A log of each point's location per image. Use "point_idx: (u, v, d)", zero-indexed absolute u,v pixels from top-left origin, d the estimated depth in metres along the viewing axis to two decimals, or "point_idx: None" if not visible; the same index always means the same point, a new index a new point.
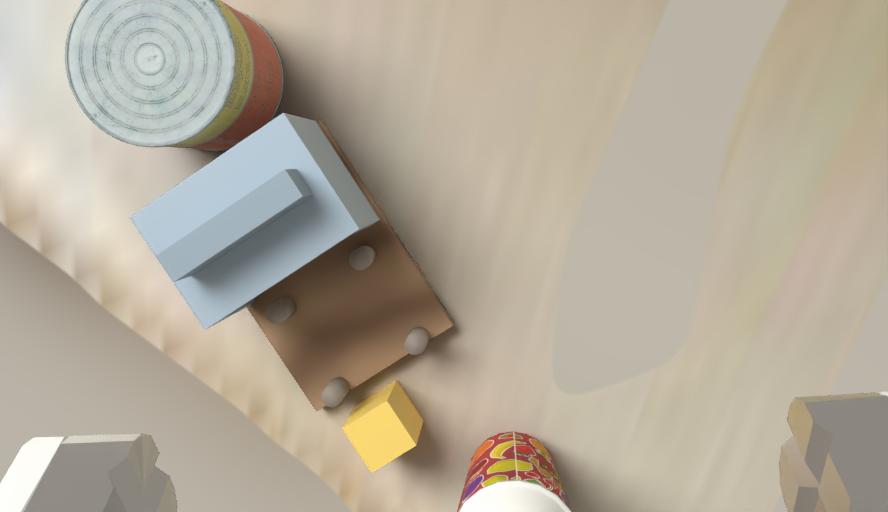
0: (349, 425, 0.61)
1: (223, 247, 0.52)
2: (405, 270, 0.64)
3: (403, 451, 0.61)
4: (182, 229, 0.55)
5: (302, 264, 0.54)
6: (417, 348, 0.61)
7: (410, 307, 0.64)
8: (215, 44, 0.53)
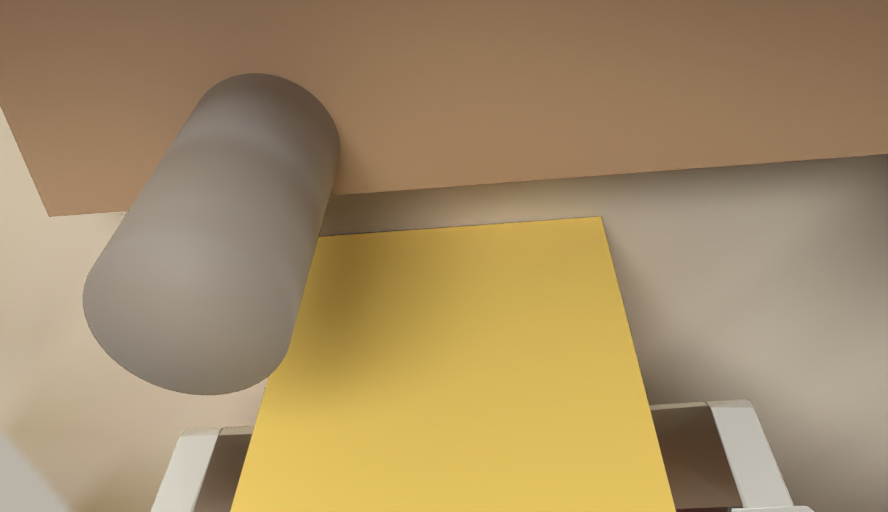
0: None
1: None
2: None
3: None
4: None
5: None
6: None
7: None
8: None
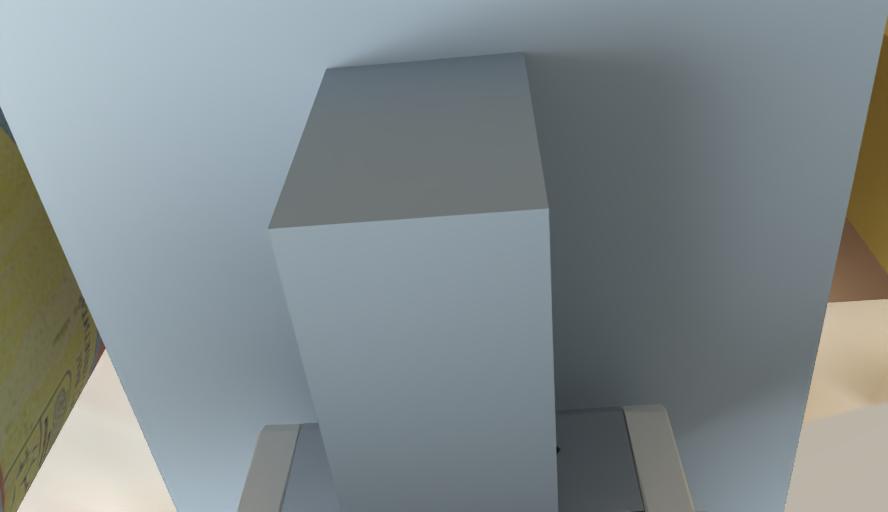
0: None
1: None
2: None
3: None
4: None
5: (822, 284, 0.10)
6: None
7: None
8: None
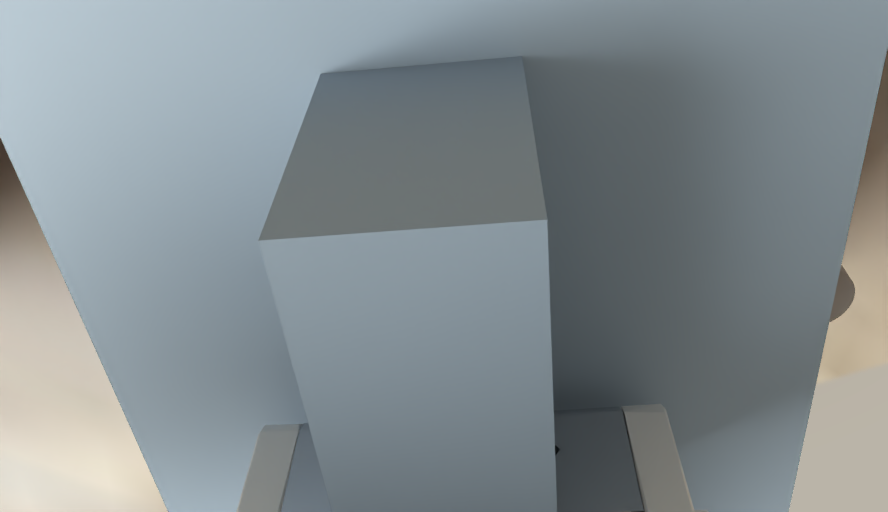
0: None
1: None
2: None
3: None
4: None
5: (826, 291, 0.10)
6: None
7: None
8: None
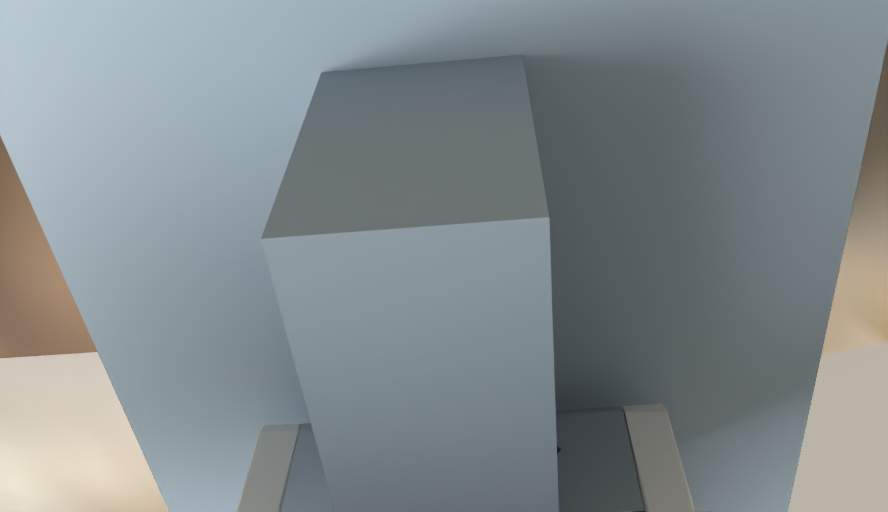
0: None
1: None
2: None
3: None
4: None
5: (826, 289, 0.10)
6: None
7: None
8: None
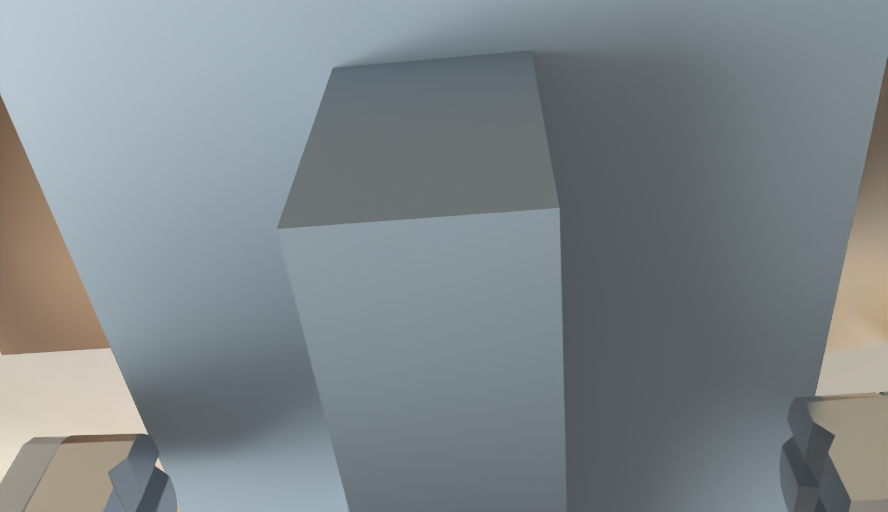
0: None
1: None
2: None
3: None
4: None
5: (830, 283, 0.10)
6: None
7: None
8: None
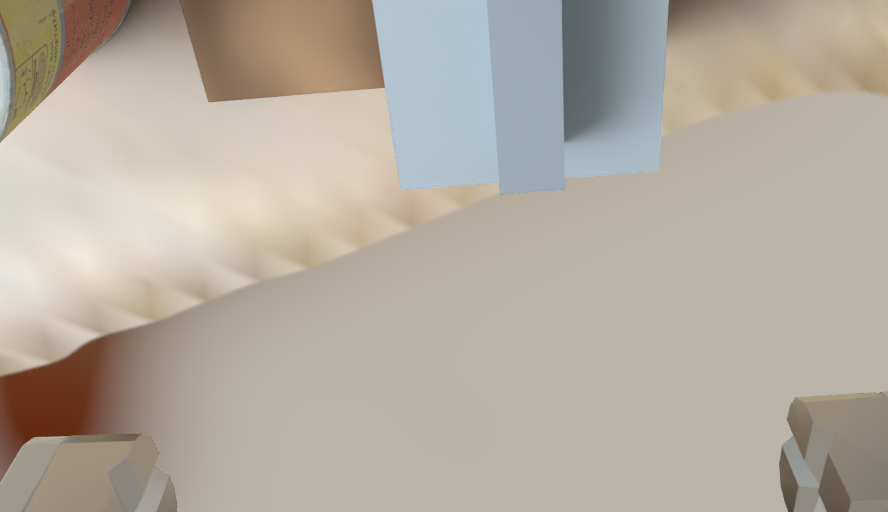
0: None
1: (560, 68, 0.23)
2: None
3: None
4: (468, 117, 0.27)
5: None
6: None
7: None
8: None
